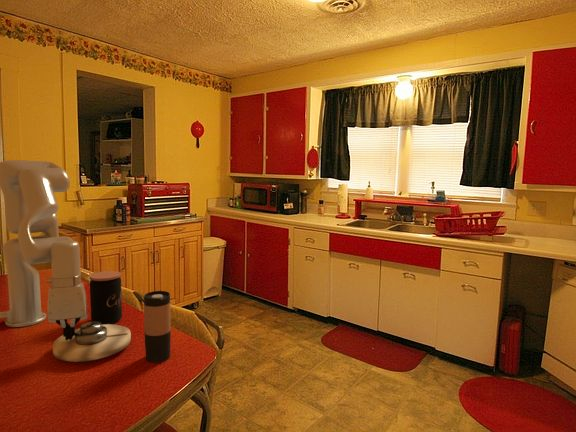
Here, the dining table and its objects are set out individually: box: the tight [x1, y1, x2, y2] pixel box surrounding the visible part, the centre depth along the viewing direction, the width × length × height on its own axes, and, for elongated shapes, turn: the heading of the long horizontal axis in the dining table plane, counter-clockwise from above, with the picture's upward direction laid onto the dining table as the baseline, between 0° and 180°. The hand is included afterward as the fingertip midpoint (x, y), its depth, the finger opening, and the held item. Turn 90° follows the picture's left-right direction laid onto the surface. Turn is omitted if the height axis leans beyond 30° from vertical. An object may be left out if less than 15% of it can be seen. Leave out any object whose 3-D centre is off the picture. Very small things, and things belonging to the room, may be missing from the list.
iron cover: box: [75, 321, 107, 345], centre depth 118 cm, size 9×9×5 cm
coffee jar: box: [89, 270, 123, 325], centre depth 141 cm, size 11×11×18 cm
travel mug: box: [143, 290, 172, 364], centre depth 114 cm, size 8×8×20 cm
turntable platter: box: [52, 324, 132, 363], centre depth 119 cm, size 22×22×2 cm
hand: (69, 338), depth 117 cm, fingers closed
